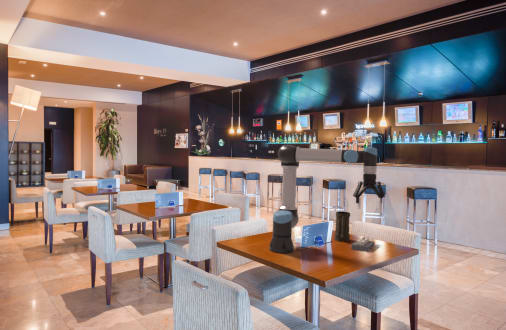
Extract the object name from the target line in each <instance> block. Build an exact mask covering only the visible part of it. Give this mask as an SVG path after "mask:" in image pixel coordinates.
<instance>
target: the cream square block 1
mask: <svg viewBox="0 0 506 330" xmlns="http://www.w3.org/2000/svg"><path fill="white" fill-rule="evenodd" d="M356 241H357V245H362V246H364V245H365V241H364V240H359V239H357V240H356Z"/></svg>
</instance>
